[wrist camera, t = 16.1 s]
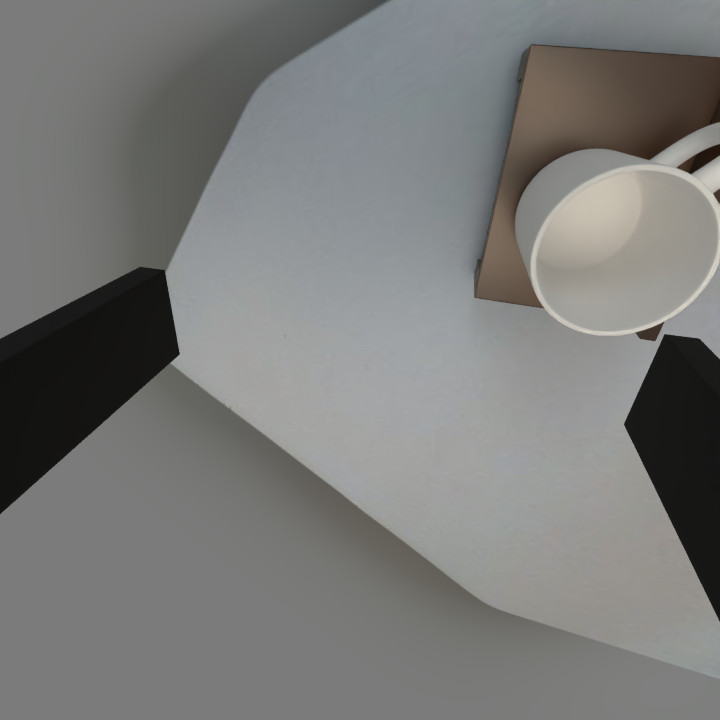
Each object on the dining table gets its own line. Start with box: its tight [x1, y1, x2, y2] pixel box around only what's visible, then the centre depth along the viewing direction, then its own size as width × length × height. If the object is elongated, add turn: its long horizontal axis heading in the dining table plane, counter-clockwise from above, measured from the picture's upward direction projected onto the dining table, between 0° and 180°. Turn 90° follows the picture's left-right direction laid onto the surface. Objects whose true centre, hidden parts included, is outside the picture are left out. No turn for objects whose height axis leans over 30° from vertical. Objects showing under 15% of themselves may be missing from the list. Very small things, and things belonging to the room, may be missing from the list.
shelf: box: [474, 44, 720, 341], centre depth 30 cm, size 16×12×8 cm
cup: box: [515, 122, 720, 336], centre depth 25 cm, size 8×12×10 cm
